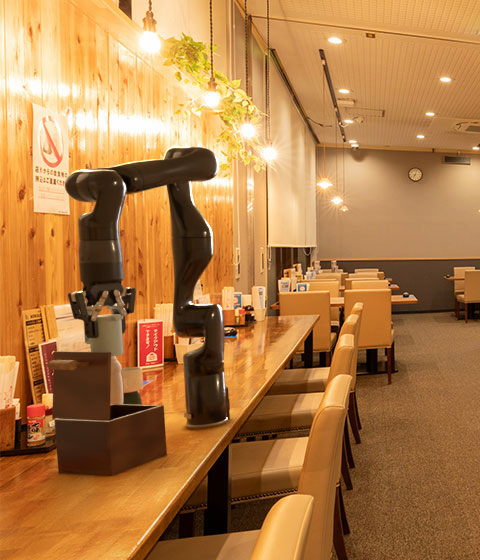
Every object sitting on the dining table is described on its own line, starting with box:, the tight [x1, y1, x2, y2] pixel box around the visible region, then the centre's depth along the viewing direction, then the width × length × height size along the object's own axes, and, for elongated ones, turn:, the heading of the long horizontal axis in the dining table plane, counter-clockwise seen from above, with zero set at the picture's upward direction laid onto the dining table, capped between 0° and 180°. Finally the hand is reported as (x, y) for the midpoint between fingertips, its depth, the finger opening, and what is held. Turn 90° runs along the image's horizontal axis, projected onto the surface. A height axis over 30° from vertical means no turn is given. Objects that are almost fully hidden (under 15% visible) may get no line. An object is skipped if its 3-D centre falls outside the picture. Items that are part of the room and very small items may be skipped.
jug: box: [83, 313, 125, 357], centre depth 144 cm, size 9×6×9 cm, turn 81°
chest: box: [54, 404, 168, 476], centre depth 146 cm, size 14×14×12 cm
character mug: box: [121, 366, 144, 405], centre depth 189 cm, size 11×7×13 cm, turn 30°
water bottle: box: [89, 344, 123, 405], centre depth 166 cm, size 7×7×25 cm
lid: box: [47, 350, 111, 420], centre depth 136 cm, size 14×14×5 cm
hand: (106, 335), depth 144 cm, fingers closed on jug, 5 cm apart
